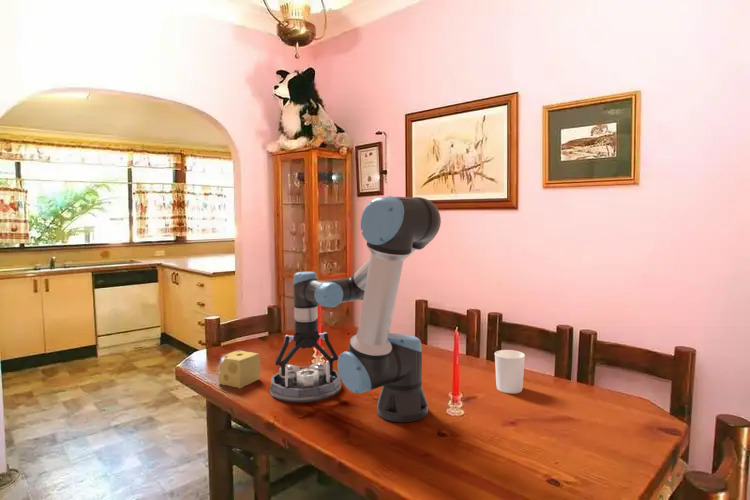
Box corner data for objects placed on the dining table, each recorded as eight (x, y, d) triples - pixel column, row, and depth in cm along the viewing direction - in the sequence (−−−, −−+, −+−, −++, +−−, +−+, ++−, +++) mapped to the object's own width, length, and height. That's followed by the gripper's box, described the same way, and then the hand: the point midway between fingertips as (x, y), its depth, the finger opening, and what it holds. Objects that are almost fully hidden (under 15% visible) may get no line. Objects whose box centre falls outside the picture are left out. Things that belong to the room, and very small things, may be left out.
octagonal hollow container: (317, 385, 158) (316, 368, 157) (319, 393, 151) (319, 375, 150) (296, 387, 156) (295, 370, 156) (298, 395, 149) (297, 377, 149)
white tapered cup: (526, 395, 151) (526, 359, 150) (495, 393, 153) (495, 357, 152) (522, 384, 160) (523, 350, 160) (493, 383, 162) (493, 349, 162)
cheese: (218, 384, 164) (217, 356, 164) (240, 375, 174) (239, 348, 173) (240, 389, 159) (239, 360, 159) (261, 379, 169) (261, 352, 168)
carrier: (347, 398, 151) (346, 375, 150) (270, 406, 145) (270, 382, 144) (335, 373, 174) (334, 354, 173) (269, 380, 168) (268, 359, 167)
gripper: (342, 314, 158) (343, 375, 160) (266, 319, 152) (268, 383, 154) (346, 319, 151) (347, 383, 153) (266, 324, 145) (268, 391, 147)
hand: (307, 383), depth 153 cm, fingers open, 13 cm apart
